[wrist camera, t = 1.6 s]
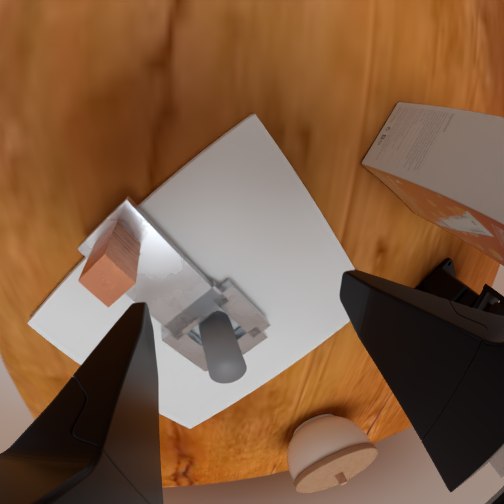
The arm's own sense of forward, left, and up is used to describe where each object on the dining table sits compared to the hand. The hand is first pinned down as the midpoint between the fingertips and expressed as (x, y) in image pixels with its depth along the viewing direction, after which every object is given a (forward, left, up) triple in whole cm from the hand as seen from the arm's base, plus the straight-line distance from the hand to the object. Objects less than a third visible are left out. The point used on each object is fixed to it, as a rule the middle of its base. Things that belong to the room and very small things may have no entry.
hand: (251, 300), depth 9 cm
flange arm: (-4, +5, -11) cm, 13 cm away
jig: (-8, +5, -12) cm, 15 cm away
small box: (-8, -15, -12) cm, 21 cm away
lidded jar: (-32, +8, -12) cm, 35 cm away
